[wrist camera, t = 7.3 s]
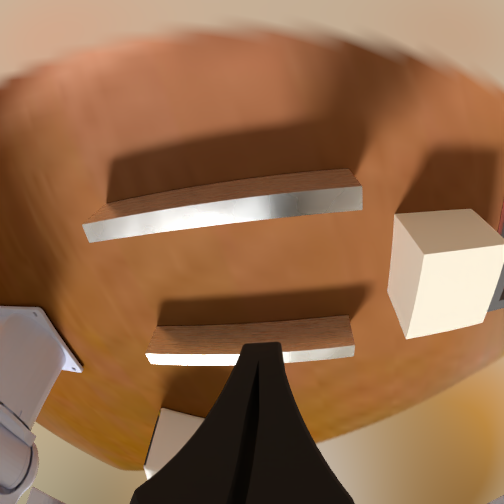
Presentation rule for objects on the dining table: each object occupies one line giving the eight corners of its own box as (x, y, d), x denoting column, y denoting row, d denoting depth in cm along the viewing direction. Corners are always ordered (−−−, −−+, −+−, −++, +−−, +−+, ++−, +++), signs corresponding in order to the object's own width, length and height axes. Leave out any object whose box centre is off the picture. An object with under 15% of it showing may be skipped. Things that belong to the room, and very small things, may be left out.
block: (386, 290, 17) (405, 339, 13) (393, 212, 14) (423, 254, 11) (455, 280, 16) (482, 322, 12) (469, 207, 13) (509, 243, 10)
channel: (161, 336, 20) (151, 363, 18) (105, 203, 15) (82, 224, 13) (347, 326, 18) (353, 356, 16) (348, 168, 13) (362, 186, 11)
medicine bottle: (160, 405, 26) (131, 513, 16) (231, 422, 26) (216, 532, 16) (160, 430, 30) (138, 518, 19) (220, 444, 30) (206, 534, 20)
